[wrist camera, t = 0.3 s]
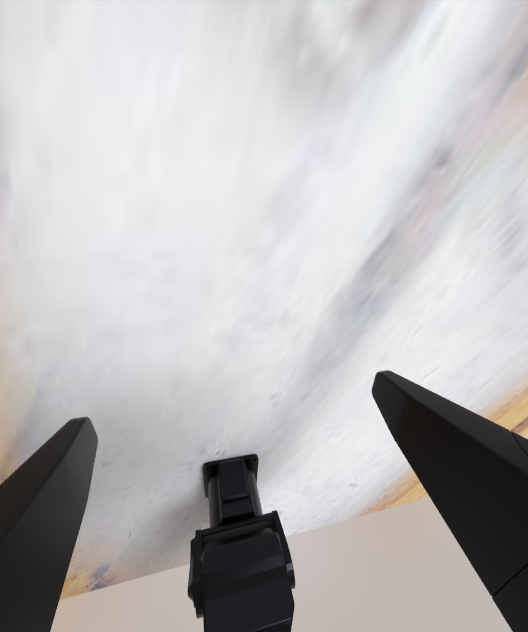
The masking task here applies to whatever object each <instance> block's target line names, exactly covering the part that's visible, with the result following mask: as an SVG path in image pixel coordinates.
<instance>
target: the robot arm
mask: <svg viewBox="0 0 528 632" xmlns="http://www.w3.org/2000/svg"><path fill="white" fill-rule="evenodd" d="M372 395H373V398H374V400H375V402H376V404H377V406H378V408H379V410H380V412H381V414H382V416H383V418H384V420H385V422H386V424H387V426H388V428H389V430H390V432H391V434H392V436H393V438H394V439H395V441H396V443H397V444H398V446H399V448H400V449H401V451H402V453H403V454H404V456H405V457H406V459H407V461H408V462H409V464H410V466H411V467H412V469H413V470H414V472H415V474H416V475H417V477H418V478H419V480H420V482H421V483H422V485H423V487H424V488H425V490H426V491H427V493H428V495H429V496H430V498H431V499H432V501H433V503H434V504H435V506H436V508H437V509H438V511H439V512H440V514H441V516H442V517H443V519H444V521H445V522H446V524H447V525H448V527H449V529H450V530H451V532H452V534H453V535H454V537H455V538H456V540H457V542H458V543H459V545H460V546H461V548H462V549H463V551H464V553H465V555H466V556H467V558H468V560H469V561H470V563H471V564H472V566H473V568H474V569H475V571H476V572H477V574H478V576H479V577H480V579H481V581H482V582H483V584H484V585H485V587H486V589H487V590H488V592H489V593H490V595H491V596H492V599H493V600H494V602H495V604H496V605H497V607H498V608H499V610H500V612H501V613H502V615H503V617H504V618H505V620H506V621H507V623H508V624H509V626H510V628H511V630H512V631H513V632H528V439H526V438H524V437H522V436H520V435H518V434H516V433H514V432H510V431H509V430H508V429H506V428H504V427H502V426H500V425H498V424H496V423H494V422H492V421H490V420H488V419H486V418H484V417H482V416H480V415H478V414H476V413H474V412H472V411H470V410H468V409H466V408H464V407H462V406H460V405H458V404H456V403H454V402H452V401H450V400H448V399H446V398H444V397H442V396H440V395H438V394H436V393H434V392H432V391H430V390H428V389H426V388H424V387H422V386H420V385H418V384H416V383H414V382H412V381H410V380H408V379H406V378H403V377H401V376H399V375H397V374H395V373H393V372H391V371H388V370H387V371H380V372H377V374H376V376H375V379H374V383H373V387H372ZM97 444H98V438H97V434H96V432H95V430H94V427H93V425H92V422H91V420H90V418H88V417H80V418H74V419H71V420H70V421H68V422H67V423H66V424H65V425H64V426H63V427H62V428H61V429H60V430H59V431H58V432H56V433H55V434H54V435H53V436H52V437H51V438H50V439H49V440H48V441H47V442H46V443H45V444H44V445H43V446H41V447H40V448H39V449H38V450H37V451H36V452H35V453H34V454H33V455H32V456H31V457H30V458H29V459H28V460H26V461H25V462H24V463H23V464H22V465H21V466H20V467H19V468H18V469H17V470H16V471H15V472H14V473H13V474H11V475H10V476H9V477H8V478H7V479H6V480H5V481H4V482H3V483H2V484H1V485H0V632H50V630H51V627H52V623H53V619H54V616H55V612H56V609H57V606H58V602H59V599H60V595H61V592H62V588H63V585H64V581H65V578H66V574H67V571H68V567H69V564H70V560H71V557H72V554H73V550H74V547H75V543H76V540H77V536H78V533H79V529H80V526H81V522H82V519H83V515H84V512H85V508H86V504H87V500H88V495H89V490H90V484H91V478H92V473H93V467H94V461H95V455H96V450H97ZM257 470H258V456H257V455H249V456H243V457H237V458H231V459H226V460H220V461H214V462H208V463H205V464H204V465H203V471H204V484H205V496H206V497H208V498H209V515H210V528H208V529H204V530H201V529H200V530H196V534H195V538H194V539H193V540H191V559H190V572H189V581H188V597H189V598H190V599H191V600H192V601H193V602H194V607H195V608H196V615H197V618H201V617H204V632H291V626H292V620H293V613H294V599H293V595H292V591H291V589H294V588H295V577H294V570H293V564H292V560H291V555H290V551H289V548H288V544H287V541H286V538H285V535H284V532H283V528H282V525H281V522H280V519H279V516H278V512H277V510H276V511H272V513H268V514H264V515H263V514H262V509H261V504H260V499H259V494H258V489H257V484H256V483H257Z"/></svg>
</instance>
